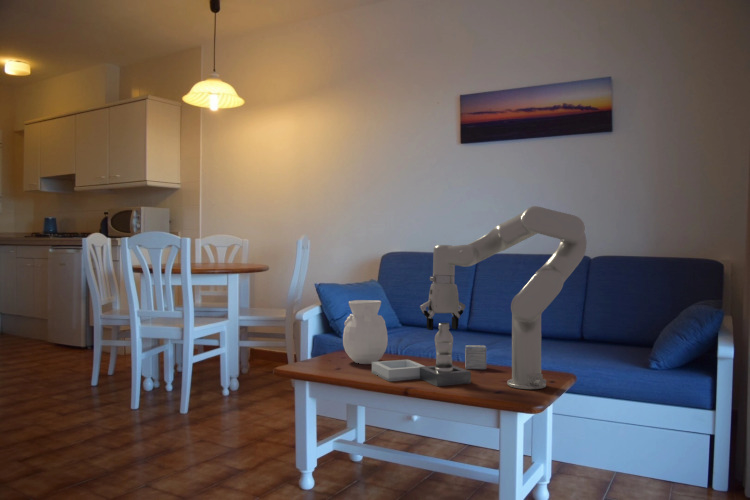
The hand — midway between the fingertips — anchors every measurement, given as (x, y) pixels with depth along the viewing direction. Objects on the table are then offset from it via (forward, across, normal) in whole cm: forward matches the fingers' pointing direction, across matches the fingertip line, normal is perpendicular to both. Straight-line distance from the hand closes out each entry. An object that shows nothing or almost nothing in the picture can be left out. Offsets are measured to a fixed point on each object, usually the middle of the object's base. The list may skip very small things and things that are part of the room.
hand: (442, 329), depth 202 cm
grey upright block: (+18, +23, +14) cm, 32 cm away
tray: (+18, -10, +13) cm, 25 cm away
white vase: (+19, -12, +42) cm, 48 cm away
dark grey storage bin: (+18, +1, -1) cm, 18 cm away
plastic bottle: (+18, +1, -1) cm, 18 cm away
